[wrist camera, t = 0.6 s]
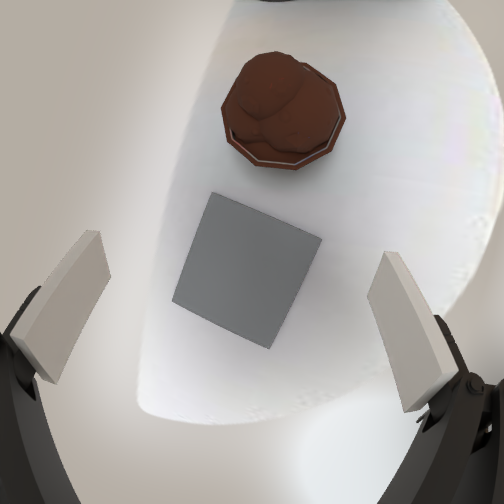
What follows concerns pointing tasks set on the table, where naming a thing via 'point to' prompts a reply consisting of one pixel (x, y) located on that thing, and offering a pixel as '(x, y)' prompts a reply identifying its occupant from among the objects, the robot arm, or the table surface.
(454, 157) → the table surface
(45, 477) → the robot arm
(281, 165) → the ice cream bowl
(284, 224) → the slate mat
